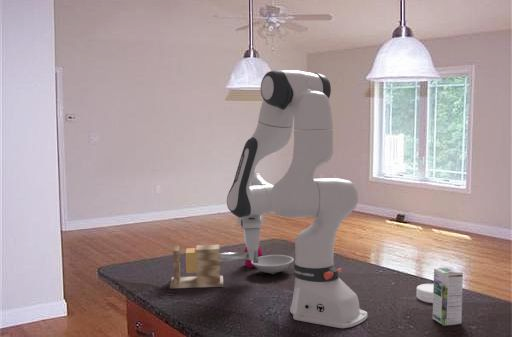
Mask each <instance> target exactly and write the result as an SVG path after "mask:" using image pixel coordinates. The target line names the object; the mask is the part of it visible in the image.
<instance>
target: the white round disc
mask: <svg viewBox="0 0 512 337" xmlns="http://www.w3.org/2000/svg"><path fill="white" fill-rule="evenodd" d="M433 288H434V283H422V284H419V285H417V286H416V296H415V297H416V298H417V299H418V300H419V301H422V302H425V303H429V304H430V303H431V304H433Z"/></svg>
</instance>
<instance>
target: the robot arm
mask: <svg viewBox="0 0 512 337" xmlns="http://www.w3.org/2000/svg"><path fill="white" fill-rule="evenodd" d="M331 92H332V89H331V83H330V80H329V79H328V78H327V76H325V75H324V74H321V73H318V72H308V71H301V70H296V69H289V70H288V69H285V70H281V69H274V70H271V71H268V72H266V73H265V75H264V76H263V78H262V80H261V82H260V95H261V97H262V102H261V107H260V108H259V109H260V110H259V114H258V120H257V125H256V128H255V130H254V133H253V134H252V135H251V137H250V138H249V139H248V140H246V142H245V144H244V146H243V149H242V152H241V155H240V158H239V161H238V162H239V163H238V165H237V168H236V169H237V170H236V172H235V175H234V180H233V182H232V185H231V187H230V189H229V191H228V194H227V197H226V206H227V209H228V210H229V211H230V212H231V214H233V215H234V216H235V217H237V225H238V226H240V227H241V230H243V240H244V243H245V248H246V247H247V251H248V253H249V254H248V255H249V260H254V251H258V247H259V246H260V237H261V229H262V227H263V224H264V214H267V213H268V214H269V213H273V212H274V213H275V214H276V215H278V216H280V217H281V216H282V217H286V218H287V217H288V218H312V217H314V219H313V220H312V222H311V224H310V225H309V226H308V227H307V228H305V229H303V230H301V231H300V232H298V234H297V235H296V237H295V240H294V243H295V244H294V245H295V246H294V249H295V250H294V251H295V252H294V253H295V254H294V256H295V258H294V259H295V260H294V263H293V277H294V287H293V296H292V299H291V300H292V301H291V304H290V307H289V308H290V309H289V312H290V313H291V314H292V318H293V320H295V321H300V322H305V323H311V324H315V325H322V326H327V327H333V328H338V329H347V328H352V327H355V326H357V325H359V324H362V323H363V322H365V321H366V320H367V318H368V311H366V310H364V309H361V308H360V302H359V297H358V295H357V293H356V292H354V291H353V289H351V287H349V286H348V284H346V283H345V282H344V281H343V280H342V279H341V278H340V275H339V273H342V272H343V271H342V267H339V268H337V267H336V264H335V262H334V249H335V240H336V235H337V232H338V229H339V227H340V226H341V224H342V222H343V221H344V219H345V218H346V217H347V216H349V214H351V213H352V212H353V211H354V210H355V209H356V208H357V205H358V202H359V193H358V188H357V187H356V185H355V184H354V183H353V181H351V180H349V179H344V178H336V177H326V178H325V177H324V178H323V177H321V178H314V175H315V172H316V170H317V169H318V168H320V167H322V166H324V165H325V164H326V163H329V161H330V160H331V159H332V157H333V154H334V143H333V142H334V141H333V140H334V134H333V133H334V132H333V125H334V124H333V114H332V108H331V103H330V97H331ZM292 132H293V151H292V152H293V154H292V159H291V162H290V166H289V167H288V169H287V171H286V173H285V174H284V175H283V176H282V177H281V178H280V179H279V180H277V182H275V183H274V184H271V183H270V182H267V181H266V180H265V179H264V178H263V176H262V174H261V173H259V172H255V171H256V167H257V165H258V164H259V162H261V161H262V160H263V159H265V158H266V157H267V156H270V155H271V154H274V153H276V152H279V151H281V149H283V148H285V147H286V145H288V143H289V141H290V140H291V137H292Z"/></svg>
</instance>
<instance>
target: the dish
mask: <svg viewBox="0 0 512 337" xmlns="http://www.w3.org/2000/svg"><path fill="white" fill-rule="evenodd" d="M294 259H295V258H294V257H292V256H289V255H285V254H268V255H262V256H261V257H258V263H253V260H252V261H251V263H252V264H253V265H254V266H255V268H256V269H257V270H258V271H260V272H263V273H266V274H270V275H275V274H277V273H280V272H282V271H284V270H286V269H287V268H288V267H289V266H290V265H291V264H292V263H293V262H295V260H294Z"/></svg>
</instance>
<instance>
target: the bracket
mask: <svg viewBox="0 0 512 337" xmlns="http://www.w3.org/2000/svg"><path fill="white" fill-rule="evenodd" d="M220 246H221V245H220V244H197V245H196V246H195V248H196V273H195V274H196V276H181V254H180V253H181V251H180V249H181V246H180V245H174V247H173V255H172V256H173V258H172V259H173V276H172V277H171V279H170V283H169V289H186V288H187V289H189V288H196V289H197V288H218V287H219V288H220V287H224V275H221V261H220V253H221V252H220V249H221V248H220Z"/></svg>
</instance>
